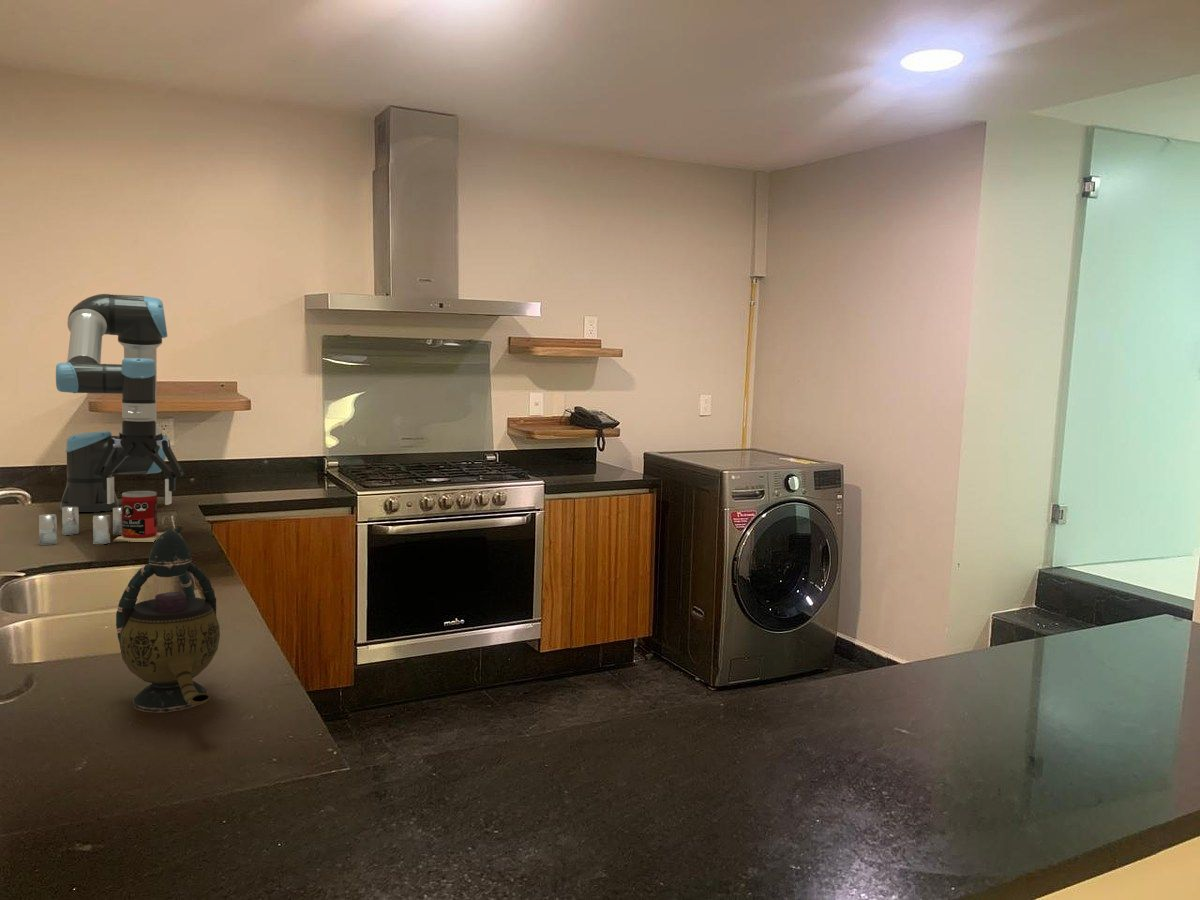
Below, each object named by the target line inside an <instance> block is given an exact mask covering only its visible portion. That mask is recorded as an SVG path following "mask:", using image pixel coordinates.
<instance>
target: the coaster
mask: <svg viewBox="0 0 1200 900" xmlns="http://www.w3.org/2000/svg"><path fill="white" fill-rule="evenodd" d="M164 532H165V531H162V532H161V531H160V532H159V531H157V533H156V535H155V536H152V537H146V538H126V537H124V536H123V535H121V536H117V537H116V538H114V539H113V542H114V541H128V542H129V541H130V542H153V543H155V542H156V541H155V540H157V539H158V538H159V537H160V536H161V534H163V533H164ZM154 541H155V542H154Z"/></svg>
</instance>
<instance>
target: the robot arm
mask: <svg viewBox="0 0 1200 900" xmlns="http://www.w3.org/2000/svg"><path fill="white" fill-rule="evenodd" d="M67 328H68V331H69V332H70V335H69V343H68V344H69V345H68V352H67V358H66V359H67V360H66V361H65V362H58V363H57V364H56V366H55V385H56V386H55V387H56V389H57V391H59V392H60V393H71V394H117V395H118V394H120V395H122V397H121V398H122V399H121V417H122V419H123V421H121V423H122V424H121V426H122V427H121V428H120V429H119V431H118V432H119V433H118V434H119V435H112V434H113V433H112V432H111V431H110V430H100V431H99V430H98V431H90V432H83V433H77V434H72V435H70V436H68V437H67V439H66V450H65V453H66V486H65V489H64V492H63V494H62V497H61V500H60V503H59V504H60V508H59V509H60V512H62V507H67V506H77V507H78V509H79V512H94V513H101V512H100V511H105V512H111V510H112V511H113V508H114V507H119V500H118V496H117V494H116V492H115V491H116V490H115V476H112V475H138V474H139V475H140V474H141V475H143V474H144V475H148V474H158V473H161V472H162V473H164V475H165V476H166V477H167V478H165V479H164V496H165V497H164V500H165V501H164V504H165V505H166V506H168V505H171V504H172V503H173V499H172V494H173V492H174V491H176V488H177V487H176V485H177V484H176V483H177V482H176V480H177V478H179V477H181V476H183V475H184V471H183V468H182V467H181V465H180V463H179V461H178V459H177V457H176V455H175V454H174V452H173V450H172V448H171V443H170V439H168V437H167V436H166V435H165V434H163V430H162V428H161V427H160V426H158V424H157V423H158V421H157V420H158V419H157V416H158V415H157V414H158V411H157V408H158V407H157V405H158V403H157V393H158V392H157V388H158V387H157V383H158V382H157V381H158V380H157V349H158V348H159V347H160V346H161V345H162V344H163V339H166V338H168V330H167V323H166V315H165V309H164V303H163V301H162V300H161V299H160V298H158V297H153V296H146V295H130V294H129V295H127V294H110V293H99V294H96V295H91V296H89V297H87V298H85V299H83V300H81V301H79V302H78V303H77V304H76V305H75V306H73V308H72V309H71V311H70V312H69V315H68V317H67ZM104 335H109V336H110V335H111V336H117V342H118V343H119V344H120V345H121V346H122V347H123V359H122V360H121V364H120V363H119V364H116V363H102V361H101V360H102V347H103V345H102V344H103V336H104ZM166 459H167V461H168V463H169V464H170V466H169V465H168V464H167V462H166Z"/></svg>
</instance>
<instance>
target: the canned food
mask: <svg viewBox="0 0 1200 900" xmlns="http://www.w3.org/2000/svg"><path fill="white" fill-rule="evenodd" d="M121 507H122V534H123V536H124V537H126V538H146V537H152V536H155V535H156V533H157V532H158V492H157V491H153V490H129V491H124V492H122V494H121Z"/></svg>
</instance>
